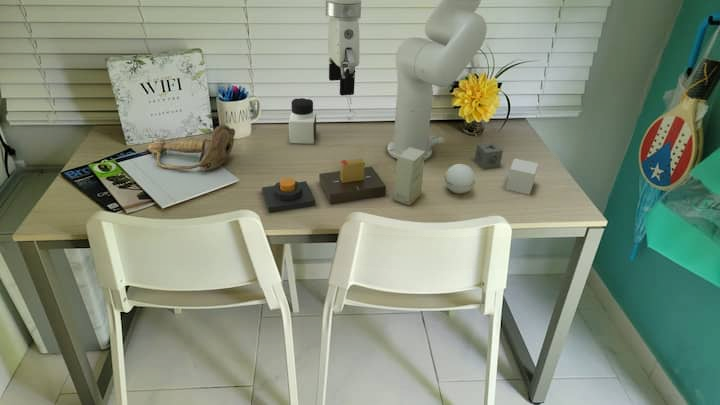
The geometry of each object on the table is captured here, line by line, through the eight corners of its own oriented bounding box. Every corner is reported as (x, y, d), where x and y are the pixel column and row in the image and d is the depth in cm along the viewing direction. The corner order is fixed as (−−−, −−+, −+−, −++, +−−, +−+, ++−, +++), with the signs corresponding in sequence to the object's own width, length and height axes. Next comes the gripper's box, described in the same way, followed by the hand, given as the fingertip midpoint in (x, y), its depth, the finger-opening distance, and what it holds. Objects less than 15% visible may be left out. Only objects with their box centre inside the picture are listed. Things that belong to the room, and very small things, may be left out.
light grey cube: (529, 195, 128) (534, 174, 125) (505, 189, 130) (510, 168, 127) (533, 183, 133) (538, 163, 129) (510, 178, 135) (514, 158, 131)
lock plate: (371, 176, 133) (372, 165, 131) (385, 196, 125) (386, 185, 123) (319, 183, 129) (319, 173, 127) (330, 205, 121) (330, 193, 120)
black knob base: (306, 186, 128) (306, 174, 126) (315, 206, 121) (315, 193, 119) (262, 193, 125) (261, 180, 123) (268, 213, 118) (267, 200, 116)
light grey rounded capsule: (440, 183, 131) (444, 158, 127) (469, 183, 131) (473, 158, 127) (447, 205, 123) (451, 178, 119) (477, 205, 123) (482, 179, 119)
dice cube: (499, 166, 140) (502, 150, 137) (483, 169, 138) (486, 152, 135) (490, 158, 143) (493, 142, 141) (474, 160, 142) (477, 144, 139)
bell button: (293, 183, 123) (293, 177, 122) (296, 191, 120) (296, 184, 119) (278, 185, 122) (278, 179, 121) (281, 193, 119) (281, 187, 118)
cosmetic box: (409, 206, 122) (414, 161, 115) (393, 200, 124) (396, 156, 117) (421, 194, 126) (426, 151, 120) (405, 189, 128) (409, 145, 122)
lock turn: (361, 176, 127) (362, 157, 124) (364, 180, 125) (364, 161, 123) (340, 179, 125) (340, 160, 123) (342, 183, 124) (342, 164, 121)
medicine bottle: (314, 144, 147) (313, 105, 141) (289, 143, 147) (287, 104, 140) (316, 133, 153) (315, 95, 146) (292, 132, 153) (291, 94, 146)
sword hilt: (211, 159, 125) (232, 115, 133) (120, 146, 128) (146, 104, 137) (221, 184, 133) (241, 141, 141) (136, 171, 137) (160, 130, 145)
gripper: (372, 19, 103) (367, 99, 112) (349, 0, 117) (346, 74, 126) (336, 19, 101) (334, 102, 110) (316, 1, 115) (316, 75, 124)
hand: (341, 87), depth 118 cm, fingers open, 9 cm apart
